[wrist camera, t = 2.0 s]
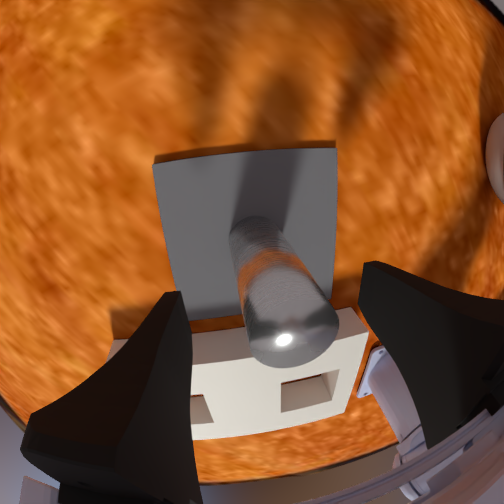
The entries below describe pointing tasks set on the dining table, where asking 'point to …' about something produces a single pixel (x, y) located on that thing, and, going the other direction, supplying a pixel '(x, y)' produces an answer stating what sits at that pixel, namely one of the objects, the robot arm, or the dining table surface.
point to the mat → (239, 207)
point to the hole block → (267, 382)
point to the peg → (279, 297)
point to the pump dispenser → (496, 156)
